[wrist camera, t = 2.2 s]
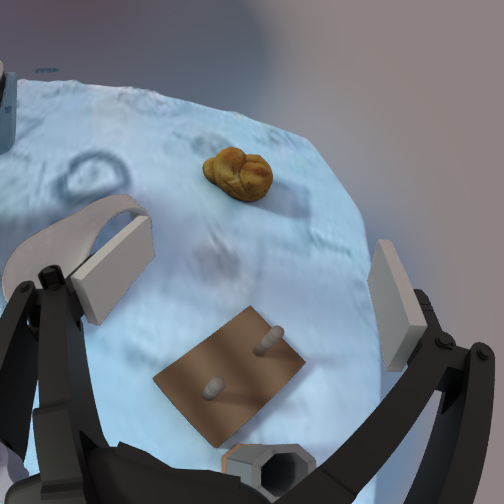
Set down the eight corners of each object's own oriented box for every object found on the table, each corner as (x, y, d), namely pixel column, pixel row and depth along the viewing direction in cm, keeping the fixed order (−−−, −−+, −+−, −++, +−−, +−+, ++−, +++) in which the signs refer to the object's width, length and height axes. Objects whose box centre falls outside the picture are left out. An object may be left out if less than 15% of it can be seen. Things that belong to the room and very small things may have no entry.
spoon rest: (37, 348, 25) (12, 324, 20) (0, 282, 27) (-21, 251, 22) (167, 242, 40) (171, 206, 35) (120, 199, 42) (118, 163, 37)
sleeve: (246, 495, 22) (285, 516, 14) (211, 465, 24) (234, 477, 15) (279, 464, 25) (329, 469, 17) (246, 434, 27) (284, 430, 19)
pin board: (214, 447, 25) (230, 450, 19) (153, 380, 28) (149, 361, 22) (301, 365, 34) (334, 343, 28) (247, 310, 37) (267, 276, 31)
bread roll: (190, 182, 49) (198, 144, 43) (218, 159, 55) (227, 125, 49) (254, 216, 48) (270, 179, 42) (275, 188, 55) (290, 155, 48)
